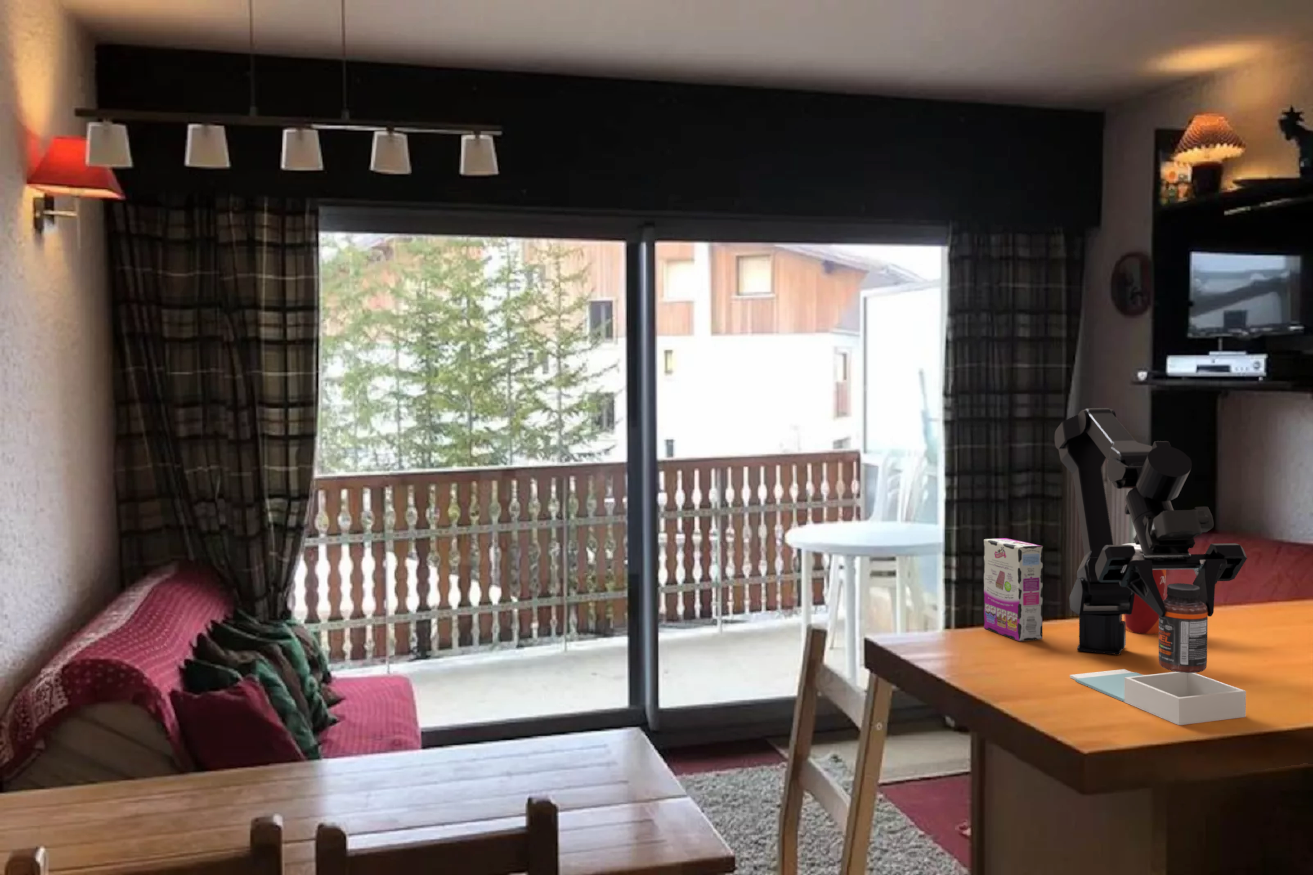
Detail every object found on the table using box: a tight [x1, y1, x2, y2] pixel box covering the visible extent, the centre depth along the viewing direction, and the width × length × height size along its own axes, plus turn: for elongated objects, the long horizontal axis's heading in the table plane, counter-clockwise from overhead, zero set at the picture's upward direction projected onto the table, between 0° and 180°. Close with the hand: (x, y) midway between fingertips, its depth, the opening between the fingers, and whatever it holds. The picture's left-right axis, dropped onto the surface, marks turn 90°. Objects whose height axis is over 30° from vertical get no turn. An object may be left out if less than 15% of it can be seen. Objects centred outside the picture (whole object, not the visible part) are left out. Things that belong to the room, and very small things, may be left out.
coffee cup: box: [1122, 542, 1167, 635], centre depth 191 cm, size 8×8×15 cm
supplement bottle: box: [1157, 582, 1209, 674], centre depth 146 cm, size 6×6×11 cm
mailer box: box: [1069, 668, 1247, 726], centre depth 153 cm, size 10×23×4 cm, turn 15°
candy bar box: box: [983, 537, 1044, 642], centre depth 190 cm, size 11×5×16 cm, turn 16°
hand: (1187, 615), depth 145 cm, fingers closed on supplement bottle, 6 cm apart
